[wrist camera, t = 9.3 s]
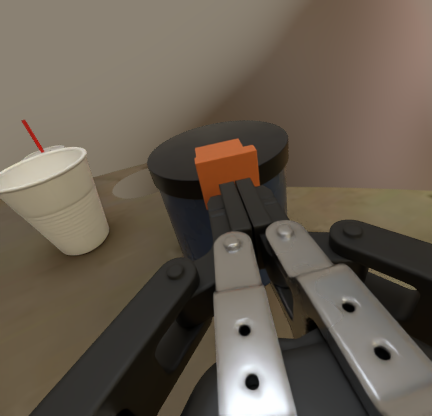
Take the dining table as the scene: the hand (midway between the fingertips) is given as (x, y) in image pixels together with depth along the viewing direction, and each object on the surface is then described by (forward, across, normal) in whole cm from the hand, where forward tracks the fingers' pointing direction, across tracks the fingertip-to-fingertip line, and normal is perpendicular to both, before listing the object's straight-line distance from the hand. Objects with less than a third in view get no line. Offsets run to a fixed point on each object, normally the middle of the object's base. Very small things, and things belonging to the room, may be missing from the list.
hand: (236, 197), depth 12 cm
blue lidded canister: (+9, 0, -12) cm, 15 cm away
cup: (+17, -19, -13) cm, 28 cm away
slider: (+4, 0, -2) cm, 5 cm away
